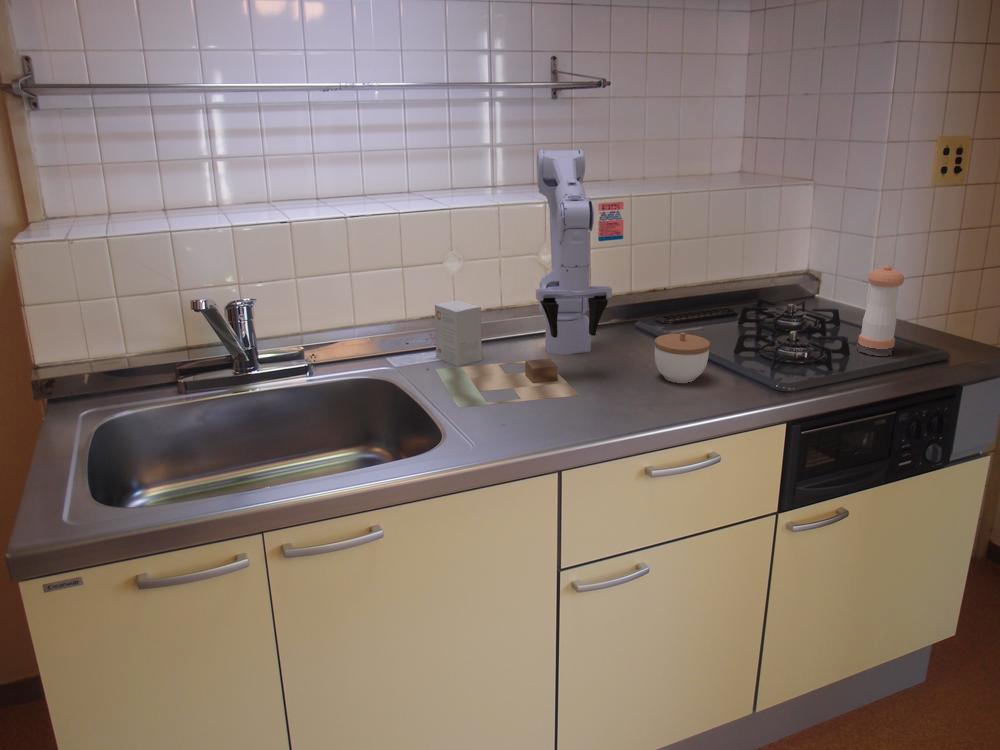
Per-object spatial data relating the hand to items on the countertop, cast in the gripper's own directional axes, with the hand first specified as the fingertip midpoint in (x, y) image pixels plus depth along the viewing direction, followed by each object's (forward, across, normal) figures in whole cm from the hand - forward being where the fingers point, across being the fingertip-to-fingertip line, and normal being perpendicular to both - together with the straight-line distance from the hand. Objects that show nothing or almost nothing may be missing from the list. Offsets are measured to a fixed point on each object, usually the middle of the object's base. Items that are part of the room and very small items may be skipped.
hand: (573, 335), depth 158 cm
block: (+8, -6, 0) cm, 10 cm away
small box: (+9, -20, +16) cm, 27 cm away
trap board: (+10, -14, 0) cm, 17 cm away
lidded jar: (+10, +22, -1) cm, 24 cm away
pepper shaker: (+9, +70, +6) cm, 71 cm away
